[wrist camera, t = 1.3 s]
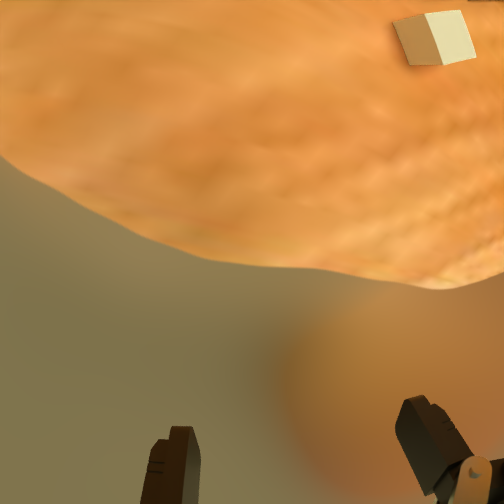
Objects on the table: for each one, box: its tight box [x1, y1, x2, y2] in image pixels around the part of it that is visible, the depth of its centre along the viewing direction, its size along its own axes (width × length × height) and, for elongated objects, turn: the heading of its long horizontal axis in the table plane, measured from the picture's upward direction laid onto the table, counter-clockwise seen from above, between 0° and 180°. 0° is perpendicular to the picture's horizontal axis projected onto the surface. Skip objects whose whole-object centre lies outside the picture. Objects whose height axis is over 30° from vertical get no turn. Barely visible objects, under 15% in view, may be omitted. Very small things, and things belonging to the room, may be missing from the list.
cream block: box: [392, 10, 477, 65], centre depth 21 cm, size 5×5×6 cm
